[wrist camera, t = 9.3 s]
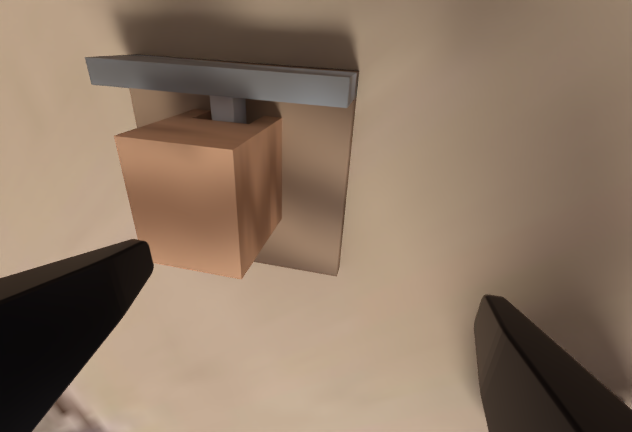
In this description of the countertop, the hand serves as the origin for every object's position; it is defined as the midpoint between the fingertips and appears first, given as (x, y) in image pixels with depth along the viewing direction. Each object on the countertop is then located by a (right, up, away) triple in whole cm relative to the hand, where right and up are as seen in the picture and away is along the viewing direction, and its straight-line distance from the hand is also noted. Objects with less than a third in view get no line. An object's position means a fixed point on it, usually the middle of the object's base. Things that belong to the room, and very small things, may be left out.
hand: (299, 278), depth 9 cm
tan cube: (-4, +5, +11) cm, 12 cm away
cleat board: (-4, +4, +12) cm, 13 cm away
